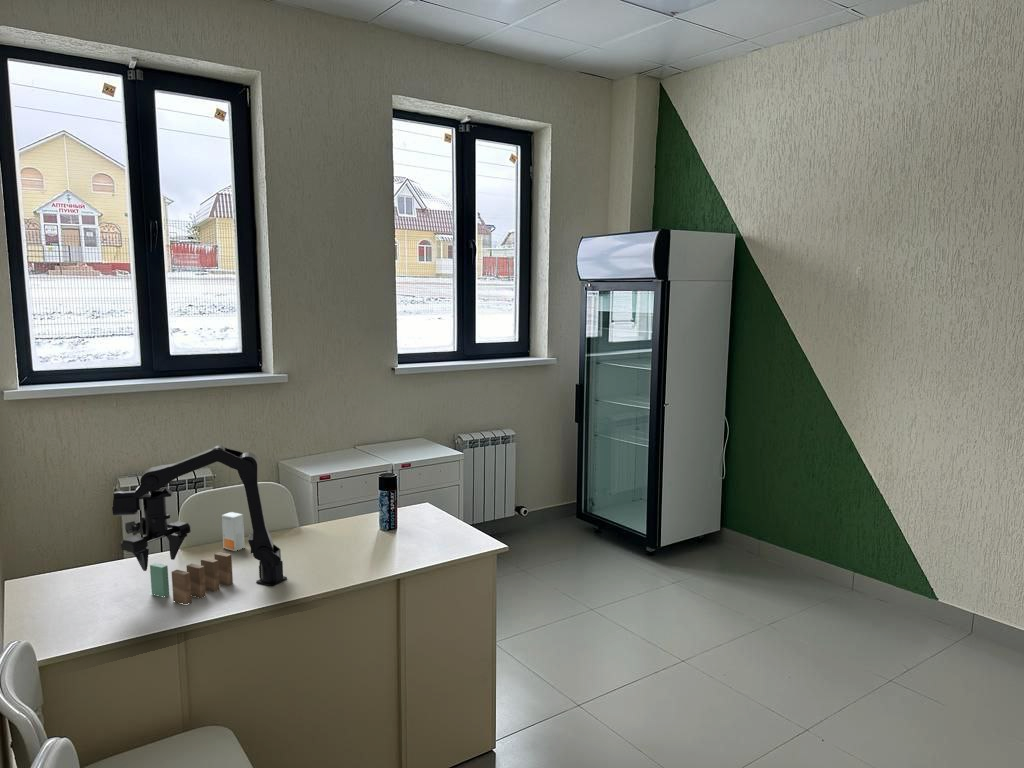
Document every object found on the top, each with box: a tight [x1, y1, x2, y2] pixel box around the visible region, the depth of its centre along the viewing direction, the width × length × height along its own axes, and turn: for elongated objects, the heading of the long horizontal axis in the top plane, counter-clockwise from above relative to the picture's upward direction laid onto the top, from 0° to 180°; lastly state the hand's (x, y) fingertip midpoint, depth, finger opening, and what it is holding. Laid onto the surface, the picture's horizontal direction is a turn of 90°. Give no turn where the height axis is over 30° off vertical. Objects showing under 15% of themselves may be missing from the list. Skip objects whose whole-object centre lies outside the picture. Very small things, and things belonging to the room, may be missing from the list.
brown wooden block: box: [171, 569, 192, 604], centre depth 197 cm, size 2×5×9 cm, turn 65°
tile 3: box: [200, 557, 221, 593], centre depth 206 cm, size 2×5×9 cm, turn 65°
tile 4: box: [186, 563, 207, 599], centre depth 202 cm, size 2×5×9 cm, turn 65°
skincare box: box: [221, 511, 246, 552], centre depth 240 cm, size 6×4×12 cm
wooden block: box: [213, 551, 234, 586], centre depth 211 cm, size 2×5×9 cm, turn 65°
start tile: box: [149, 562, 170, 598], centre depth 202 cm, size 2×5×9 cm, turn 65°
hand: (159, 564), depth 202 cm, fingers open, 9 cm apart
